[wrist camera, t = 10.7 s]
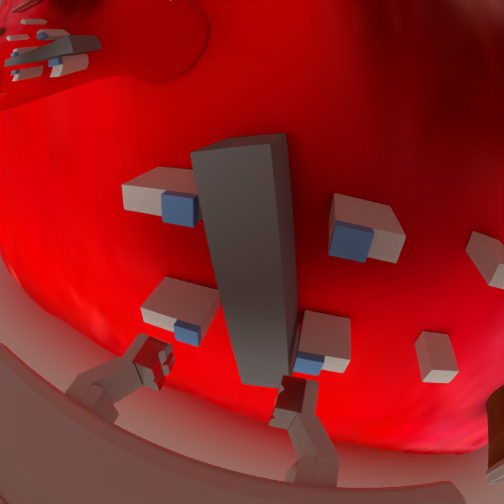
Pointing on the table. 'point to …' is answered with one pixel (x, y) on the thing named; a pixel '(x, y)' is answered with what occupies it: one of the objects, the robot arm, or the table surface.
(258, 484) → the robot arm
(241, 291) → the tall grey pillar
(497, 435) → the disposable coffee cup
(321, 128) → the table surface
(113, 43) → the beer glass
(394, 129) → the table surface
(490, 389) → the table surface
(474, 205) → the table surface
